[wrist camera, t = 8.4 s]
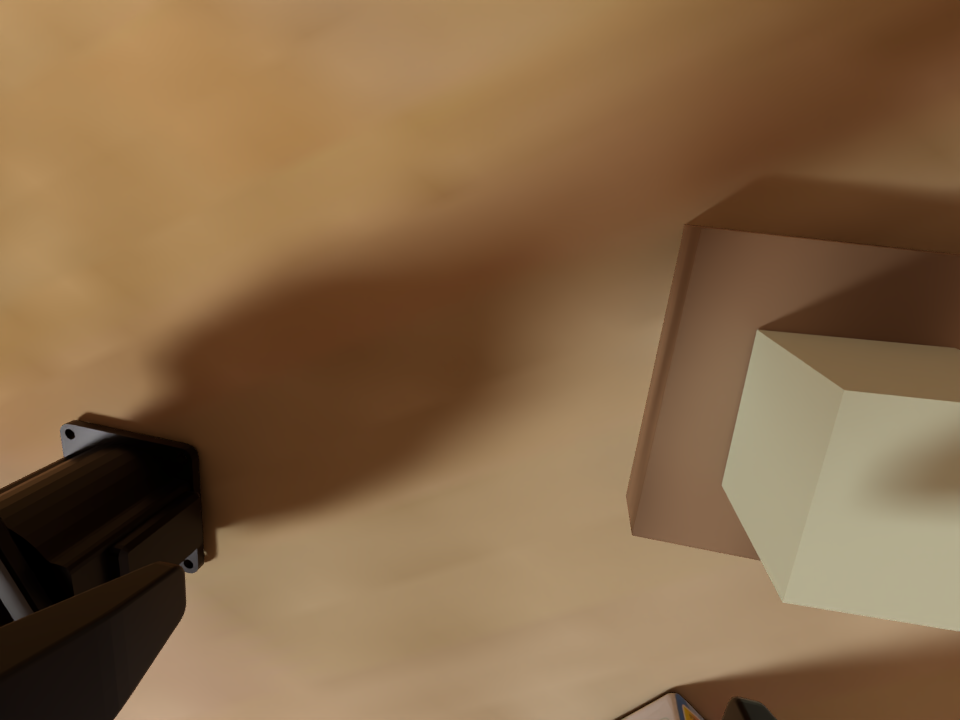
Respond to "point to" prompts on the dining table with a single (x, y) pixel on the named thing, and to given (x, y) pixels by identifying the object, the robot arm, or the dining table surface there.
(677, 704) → the ink cartridge box
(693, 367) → the walnut board
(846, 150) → the dining table surface
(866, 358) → the sage cube
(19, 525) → the robot arm
